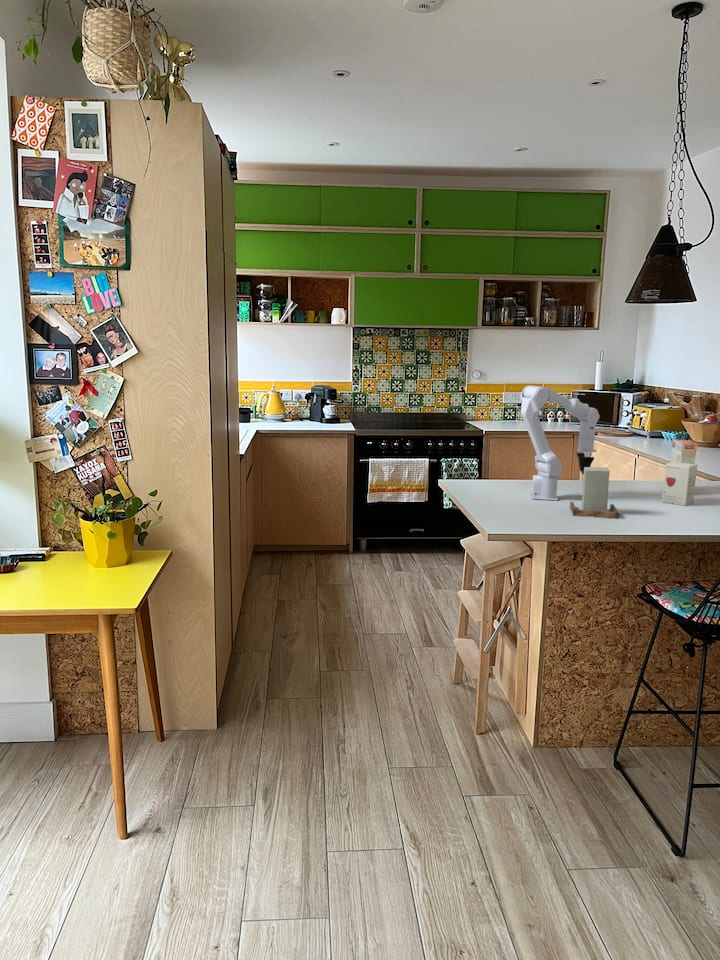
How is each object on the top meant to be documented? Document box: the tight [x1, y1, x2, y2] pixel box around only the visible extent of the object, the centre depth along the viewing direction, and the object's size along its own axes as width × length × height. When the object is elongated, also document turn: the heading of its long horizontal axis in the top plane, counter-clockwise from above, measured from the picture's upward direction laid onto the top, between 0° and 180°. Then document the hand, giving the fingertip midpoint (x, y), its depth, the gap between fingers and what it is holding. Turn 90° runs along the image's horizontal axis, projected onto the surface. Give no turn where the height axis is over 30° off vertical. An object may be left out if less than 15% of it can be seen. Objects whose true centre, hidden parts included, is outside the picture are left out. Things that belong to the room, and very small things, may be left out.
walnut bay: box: [569, 501, 620, 519], centre depth 251 cm, size 15×14×2 cm
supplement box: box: [661, 461, 698, 506], centre depth 270 cm, size 9×9×15 cm
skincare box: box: [581, 466, 610, 512], centre depth 251 cm, size 8×7×16 cm
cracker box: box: [670, 438, 698, 464], centre depth 291 cm, size 14×6×21 cm, turn 171°
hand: (583, 472), depth 277 cm, fingers open, 7 cm apart
